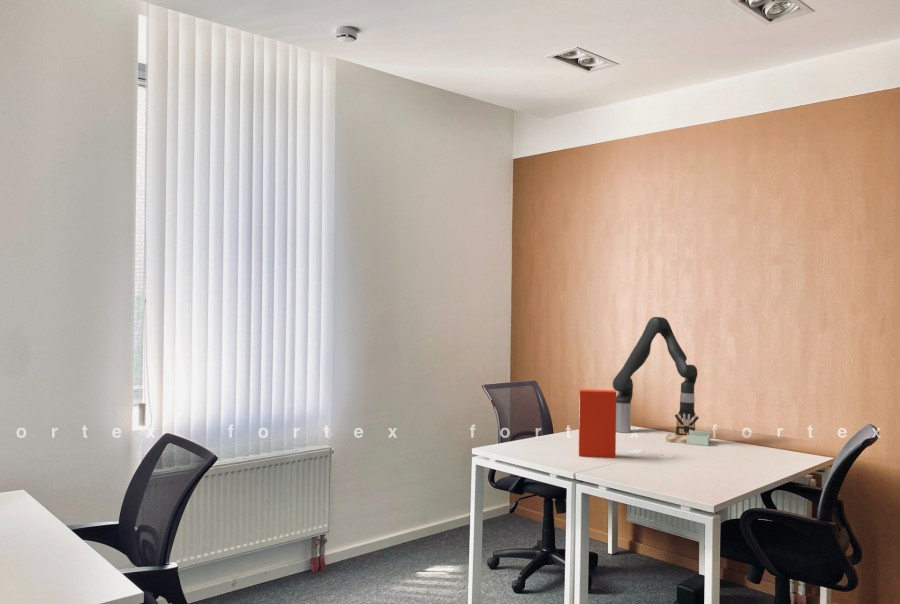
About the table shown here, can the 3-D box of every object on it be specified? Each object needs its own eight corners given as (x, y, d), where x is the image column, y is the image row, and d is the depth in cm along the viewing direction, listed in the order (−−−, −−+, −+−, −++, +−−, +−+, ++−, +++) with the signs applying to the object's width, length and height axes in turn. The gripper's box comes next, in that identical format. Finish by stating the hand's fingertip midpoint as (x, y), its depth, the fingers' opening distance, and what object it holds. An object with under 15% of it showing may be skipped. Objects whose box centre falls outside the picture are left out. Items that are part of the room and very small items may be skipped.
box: (686, 444, 359) (686, 434, 360) (689, 439, 374) (689, 430, 374) (708, 446, 355) (708, 436, 355) (710, 441, 369) (710, 432, 369)
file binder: (615, 458, 320) (616, 392, 321) (579, 456, 323) (580, 390, 324) (614, 454, 328) (614, 390, 329) (578, 453, 331) (579, 389, 332)
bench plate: (665, 441, 365) (665, 438, 365) (668, 437, 378) (668, 434, 378) (686, 443, 360) (686, 440, 360) (689, 439, 373) (689, 435, 373)
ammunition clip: (695, 436, 385) (695, 415, 385) (695, 436, 383) (695, 415, 383) (676, 434, 389) (676, 414, 389) (675, 435, 387) (675, 414, 388)
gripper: (673, 400, 363) (672, 432, 363) (699, 403, 358) (698, 435, 358) (675, 399, 370) (674, 430, 370) (700, 401, 365) (699, 432, 365)
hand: (686, 432), depth 364 cm, fingers closed
